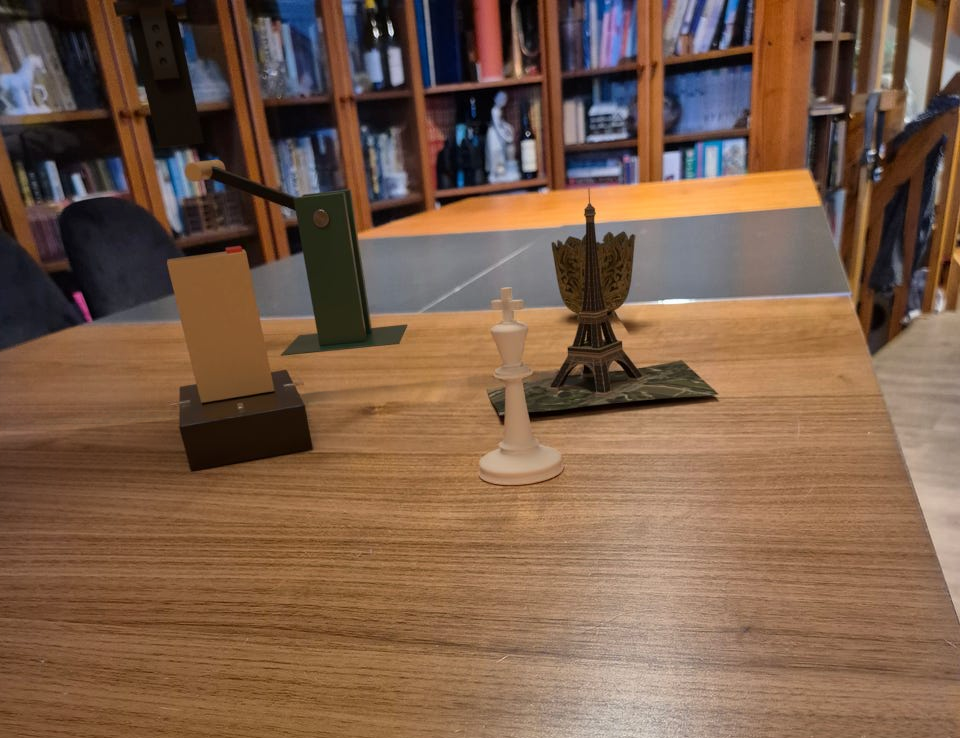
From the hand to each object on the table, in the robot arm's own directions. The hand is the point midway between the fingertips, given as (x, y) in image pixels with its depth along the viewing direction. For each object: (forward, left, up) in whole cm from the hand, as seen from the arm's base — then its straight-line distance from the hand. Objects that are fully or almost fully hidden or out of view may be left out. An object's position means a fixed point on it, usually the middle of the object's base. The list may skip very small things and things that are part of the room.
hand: (181, 144), depth 57 cm
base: (0, 0, -18) cm, 18 cm away
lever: (-15, +22, -5) cm, 28 cm away
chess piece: (+23, -1, -19) cm, 30 cm away
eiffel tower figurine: (+20, +15, -19) cm, 31 cm away
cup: (+10, +36, -19) cm, 42 cm away
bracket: (-11, +25, -18) cm, 33 cm away
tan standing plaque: (0, 0, -15) cm, 15 cm away
